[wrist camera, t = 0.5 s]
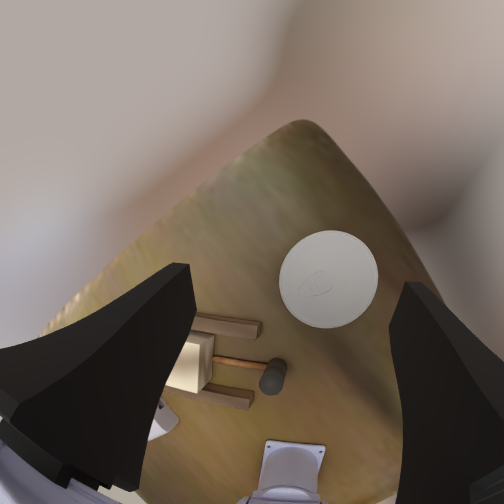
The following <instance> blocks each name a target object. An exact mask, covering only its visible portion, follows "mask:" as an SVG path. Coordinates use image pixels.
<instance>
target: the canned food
mask: <svg viewBox="0 0 504 504" xmlns="http://www.w3.org/2000/svg"><path fill="white" fill-rule="evenodd" d="M377 284H378V271H377V265H376V262H375V259H374V257H373V255H372V253H371V252H370V250H369V249H368V247H367V246H366V245H365V244H364V243H363V242H362V241H360V240H359V239H357V238H356V237H355V236H352V235H350V234H348V233H345V232H340V231H322V232H317V233H314V234H312V235H309V236H307V237H306V238H304V239H302V240H301V241H299V242H298V243H297V244H296V245H295V246H294V247H293V248H292V249H291V250H290V252H289V253H288V254H287V256H286V258H285V260H284V262H283V264H282V267H281V271H280V276H279V287H280V293H281V296H282V299H283V302H284V304H285V305H286V307H287V309H288V310H289V311H290V312H291V313H292V314H293V316H294V317H296V318H297V319H298V320H300V321H301V322H303V323H305V324H307V325H310V326H313V327H318V328H335V327H340V326H343V325H345V324H348V323H350V322H352V321H353V320H355V319H356V318H358V317H359V316H360V315H361V314H362V313H363V312H364V311H365V310H366V309H367V307H368V306H369V305H370V303H371V301H372V299H373V297H374V295H375V292H376V288H377Z"/></svg>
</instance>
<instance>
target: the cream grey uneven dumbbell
mask: <svg viewBox="0 0 504 504" xmlns="http://www.w3.org/2000/svg"><path fill="white" fill-rule="evenodd" d="M214 337H215V335H212V334H207V333H201V332H196V331H190V333H189V336H188V338H187V340H186V342H185V344H184V346H183V349H182V351H181V353H180V355H179V357H178V359H177V361H176V363H175V365H174V367H173V370H172V372H171V374H170V376H169V378H168V380H167V382H166V384H165V385H167V386H170V387H174V388H178V389H181V390H185V391H189V392H193V393H198V392H199V391H200V390H201V389H202V388H203V387H204V386H205V385H206V384H207V383H208V382H209V381H210V380H211V379H212V365H213V362H217V363H222V364H227V365H233V366H239V367H245V368H251V369H258V370H265V371H264V373H263V375H262V377H261V380H260V382H259V388H260V390H261V391H262V392H263V393H264V394H266V395H276V394H278V393H279V392H280V391H281V390H282V387H283V383H284V379H285V375H286V371H287V365H286V363H285V362H284V361H283V360H281V359H278V358H276V359H272V360H271V361H269V363H268V364H262V363H255V362H248V361H242V360H236V359H230V358H224V357H219V356H213V351H214Z"/></svg>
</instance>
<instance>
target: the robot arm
mask: <svg viewBox="0 0 504 504" xmlns="http://www.w3.org/2000/svg"><path fill="white" fill-rule="evenodd" d="M196 311H197V308H196V302H195V297H194V291H193V285H192V278H191V272H190V266H189V264H183V263H171V264H169V265H168V266H166V267H164V268H163V269H161V270H160V271H158V272H157V273H155V274H154V275H152V276H151V277H149V278H148V279H146V280H145V281H143V282H142V283H140V284H139V285H137V286H136V287H134V288H133V289H131V290H130V291H128V292H127V293H125V294H124V295H122V296H120V297H119V298H117V299H116V300H114V301H112V302H111V303H109V304H108V305H106V306H104V307H103V308H101V309H99V310H98V311H96V312H94V313H92V314H91V315H89V316H87V317H85V318H83V319H81V320H79V321H77V322H75V323H73V324H71V325H69V326H67V327H64V328H62V329H60V330H57V331H55V332H53V333H50V334H48V335H45V336H43V337H40V338H37V339H35V340H32V341H28V342H25V343H22V344H19V345H15V346H11V347H7V348H3V349H0V416H1V417H2V418H3V419H2V420H1V422H0V504H122V503H120V502H117V501H115V500H113V499H111V498H109V497H107V496H105V495H103V494H101V493H99V492H97V490H98V488H99V486H102V487H104V488H106V489H108V490H109V489H111V487H112V485H114V486H117V487H119V488H121V489H123V490H126V491H128V492H132V491H135V490H137V489H139V483H140V476H141V470H142V465H143V459H144V455H145V450H146V446H147V441H148V437H149V434H150V430H151V426H152V423H153V419H154V416H155V413H156V410H157V406H158V403H159V400H160V397H161V394H162V392H163V389H164V387H165V384H166V382H167V380H168V378H169V376H170V374H171V372H172V370H173V367H174V365H175V363H176V361H177V359H178V357H179V355H180V353H181V351H182V349H183V346H184V344H185V342H186V340H187V338H188V336H189V333H190V330H191V327H192V324H193V321H194V318H195V314H196ZM389 334H390V345H391V353H392V358H393V363H394V368H395V373H396V378H397V383H398V389H399V394H400V400H401V406H402V416H403V452H402V466H401V474H400V482H399V488H398V493H397V498H396V503H395V504H504V362H503V361H502V360H501V359H500V358H499V357H498V356H497V355H495V354H494V353H493V352H492V351H491V350H490V349H488V348H487V347H486V346H485V345H484V344H483V343H482V342H481V341H480V340H479V339H478V338H477V337H476V336H475V335H474V334H473V333H472V332H471V331H470V330H469V329H468V328H467V327H466V326H465V325H464V324H463V323H462V322H461V321H460V320H459V319H458V318H457V317H456V316H455V315H454V314H453V313H452V312H451V311H450V310H449V309H448V308H447V306H446V305H445V304H444V303H443V302H442V301H441V300H440V299H439V298H438V297H437V296H436V295H435V294H434V293H433V292H431V291H430V290H429V289H428V288H427V287H426V286H425V285H424V284H422V283H421V282H407V281H405V284H404V287H403V290H402V293H401V295H400V298H399V301H398V304H397V306H396V309H395V312H394V314H393V317H392V319H391V322H390V324H389ZM268 445H270V447H269V446H268ZM319 451H322V452H319ZM324 452H325V446H324V445H311V444H299V443H290V442H281V441H274V440H267V441H266V445H265V451H264V457H263V463H262V468H261V474H260V480H259V486H258V489H257V491H253V495H252V498H250V497H247V496H246V497H244V498H243V499H241V500H239V501H238V503H237V504H328V503H327V502H326V501H321V502H320V495H318V494H317V484H318V472H319V469H320V466H321V462H322V459H323V456H324Z"/></svg>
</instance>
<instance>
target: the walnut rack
mask: <svg viewBox="0 0 504 504" xmlns="http://www.w3.org/2000/svg"><path fill="white" fill-rule="evenodd" d="M191 329H192V330H198V331H203V332H209V333H215V334H221V335H227V336H233V337H240V338H246V339H253V340H256V339H257V338H258V337H259V335H260V329H261V322H257V321H250V320H242V319H235V318H228V317H221V316H215V315H208V314H202V313H196V314H195V318H194V321H193V324H192V327H191ZM163 391H166V392H170V393H173V394H177V395H180V396H184V397H188V398H192V399H196V400H200V401H204V402H208V403H213V404H217V405H222V406H227V407H231V408H237V409H242V410H249V408H250V406H251V404H252V401H253V393H254V391H248V390H242V389H237V388H231V387H226V386H221V385H216V384H211V383H207V384H206V385H205V386H204V387H203V388H202V389H201V390H200V391H199V392H198V393H193V392H189V391H185V390H181V389H178V388H174V387H170V386H167V385H165V387H164V389H163Z"/></svg>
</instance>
